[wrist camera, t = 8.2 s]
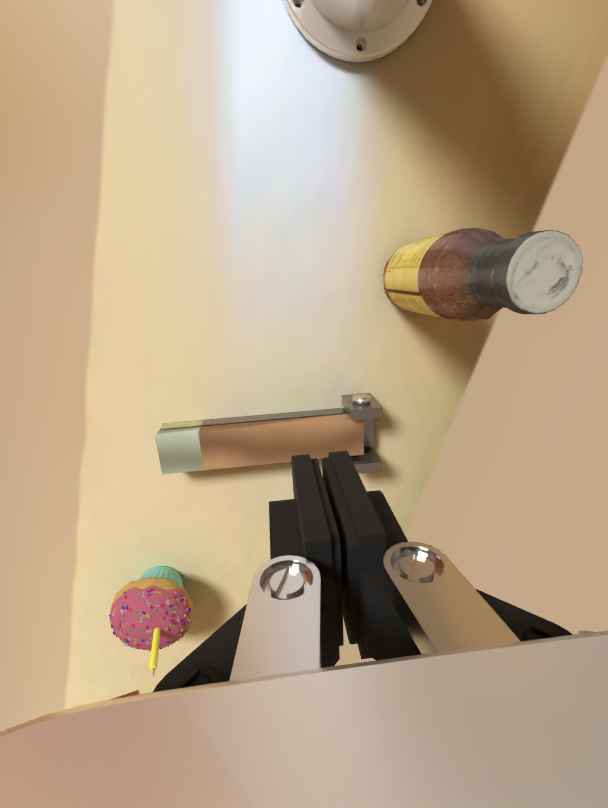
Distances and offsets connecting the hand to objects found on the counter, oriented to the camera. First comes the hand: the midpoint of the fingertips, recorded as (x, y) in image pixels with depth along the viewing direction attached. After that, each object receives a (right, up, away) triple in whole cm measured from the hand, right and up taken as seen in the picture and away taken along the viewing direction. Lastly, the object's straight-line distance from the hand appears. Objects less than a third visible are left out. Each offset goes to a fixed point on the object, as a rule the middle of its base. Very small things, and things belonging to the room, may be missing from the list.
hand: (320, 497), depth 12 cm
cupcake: (-17, -18, +36) cm, 44 cm away
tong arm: (-5, -1, +29) cm, 29 cm away
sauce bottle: (+10, +15, +27) cm, 32 cm away
